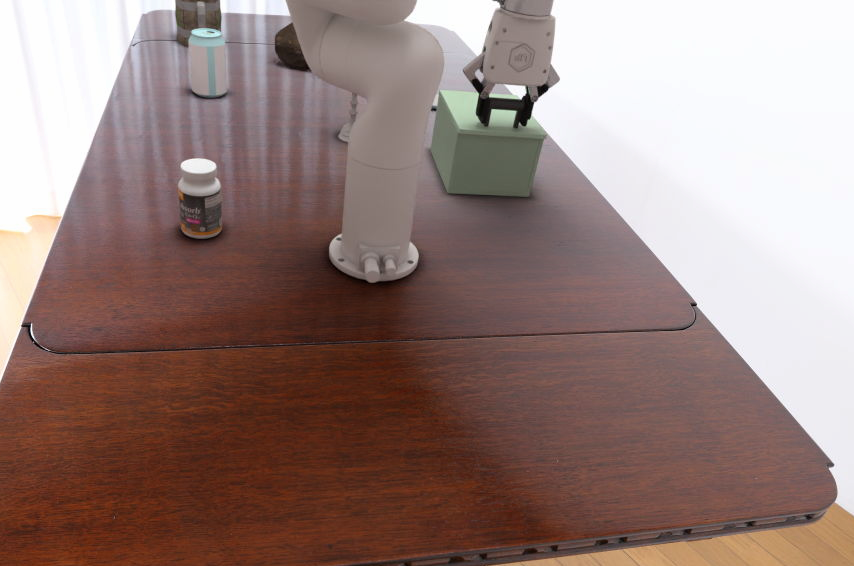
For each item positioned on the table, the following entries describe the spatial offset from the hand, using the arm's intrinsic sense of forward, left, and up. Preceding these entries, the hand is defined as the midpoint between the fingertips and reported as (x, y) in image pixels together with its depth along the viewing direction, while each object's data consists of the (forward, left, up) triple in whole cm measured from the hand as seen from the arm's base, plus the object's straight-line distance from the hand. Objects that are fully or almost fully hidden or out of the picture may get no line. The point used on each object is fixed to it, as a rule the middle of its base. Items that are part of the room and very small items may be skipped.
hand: (501, 121), depth 110 cm
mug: (+72, +55, -13) cm, 92 cm away
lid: (+7, 0, -2) cm, 7 cm away
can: (+39, +50, -13) cm, 65 cm away
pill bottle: (-17, +46, -13) cm, 51 cm away
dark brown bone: (+71, +30, -13) cm, 78 cm away
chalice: (+20, +22, -13) cm, 33 cm away
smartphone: (+42, +7, -13) cm, 45 cm away
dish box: (+7, 0, -13) cm, 15 cm away
